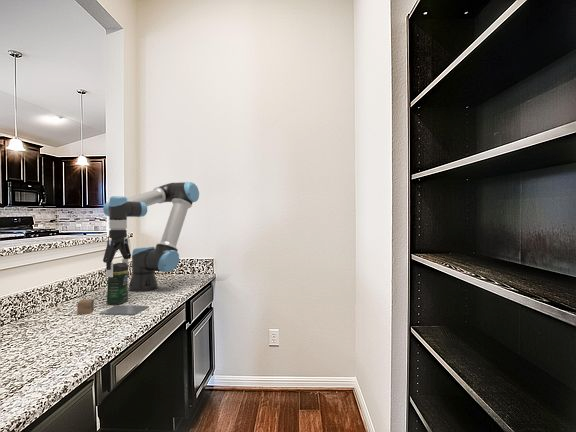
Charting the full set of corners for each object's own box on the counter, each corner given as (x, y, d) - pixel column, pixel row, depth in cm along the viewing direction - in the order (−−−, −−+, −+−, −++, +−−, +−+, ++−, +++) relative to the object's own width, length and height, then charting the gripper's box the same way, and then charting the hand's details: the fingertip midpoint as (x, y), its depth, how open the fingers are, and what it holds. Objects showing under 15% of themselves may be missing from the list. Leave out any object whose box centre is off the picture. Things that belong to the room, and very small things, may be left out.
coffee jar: (121, 305, 166) (121, 264, 166) (104, 305, 166) (104, 264, 166) (130, 300, 176) (130, 261, 176) (114, 300, 176) (114, 261, 176)
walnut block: (80, 311, 155) (80, 299, 155) (93, 310, 157) (93, 299, 157) (77, 314, 150) (77, 302, 150) (90, 313, 152) (90, 301, 152)
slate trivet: (116, 306, 163) (116, 305, 163) (148, 307, 162) (148, 306, 162) (99, 314, 150) (99, 313, 150) (134, 315, 149) (134, 313, 149)
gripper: (124, 228, 184) (123, 270, 184) (94, 230, 159) (94, 278, 159) (138, 228, 183) (138, 270, 183) (110, 230, 158) (110, 279, 158)
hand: (117, 274), depth 171 cm, fingers open, 13 cm apart
